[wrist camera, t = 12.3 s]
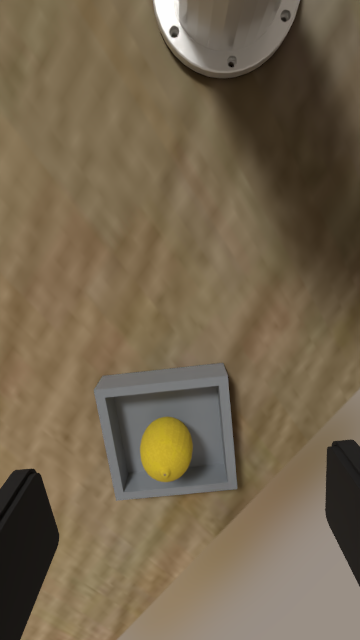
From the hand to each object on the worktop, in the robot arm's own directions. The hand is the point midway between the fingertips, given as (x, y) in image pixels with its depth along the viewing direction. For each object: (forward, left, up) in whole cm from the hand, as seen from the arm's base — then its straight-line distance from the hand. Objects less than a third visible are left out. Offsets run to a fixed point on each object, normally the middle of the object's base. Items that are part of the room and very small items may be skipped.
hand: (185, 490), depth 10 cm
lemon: (+12, -3, -23) cm, 27 cm away
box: (+13, -3, -24) cm, 27 cm away
